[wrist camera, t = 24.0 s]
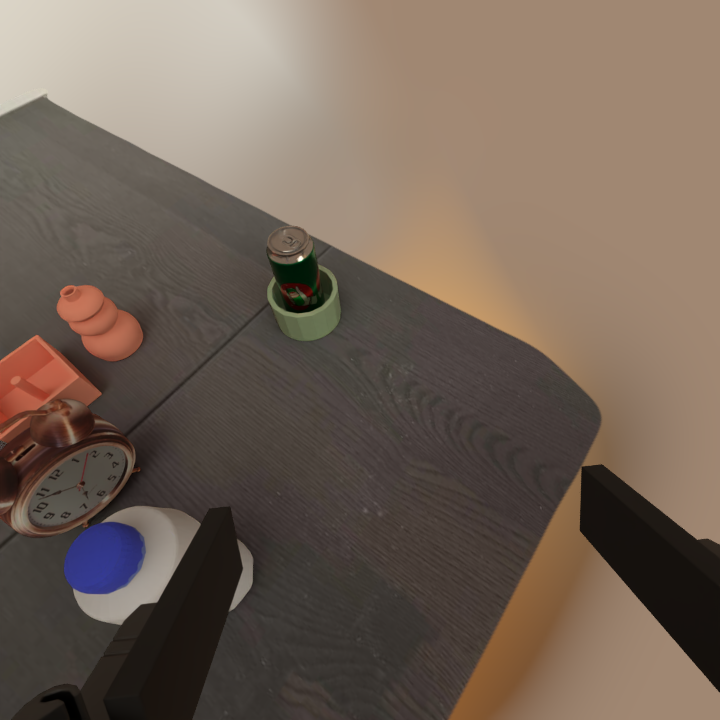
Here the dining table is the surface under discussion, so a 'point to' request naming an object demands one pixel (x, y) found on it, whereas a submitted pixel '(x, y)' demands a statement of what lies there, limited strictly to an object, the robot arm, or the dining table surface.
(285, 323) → the cup
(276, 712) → the dining table surface
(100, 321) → the pottery
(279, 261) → the soda can
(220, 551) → the robot arm
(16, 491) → the alarm clock
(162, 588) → the bottle
